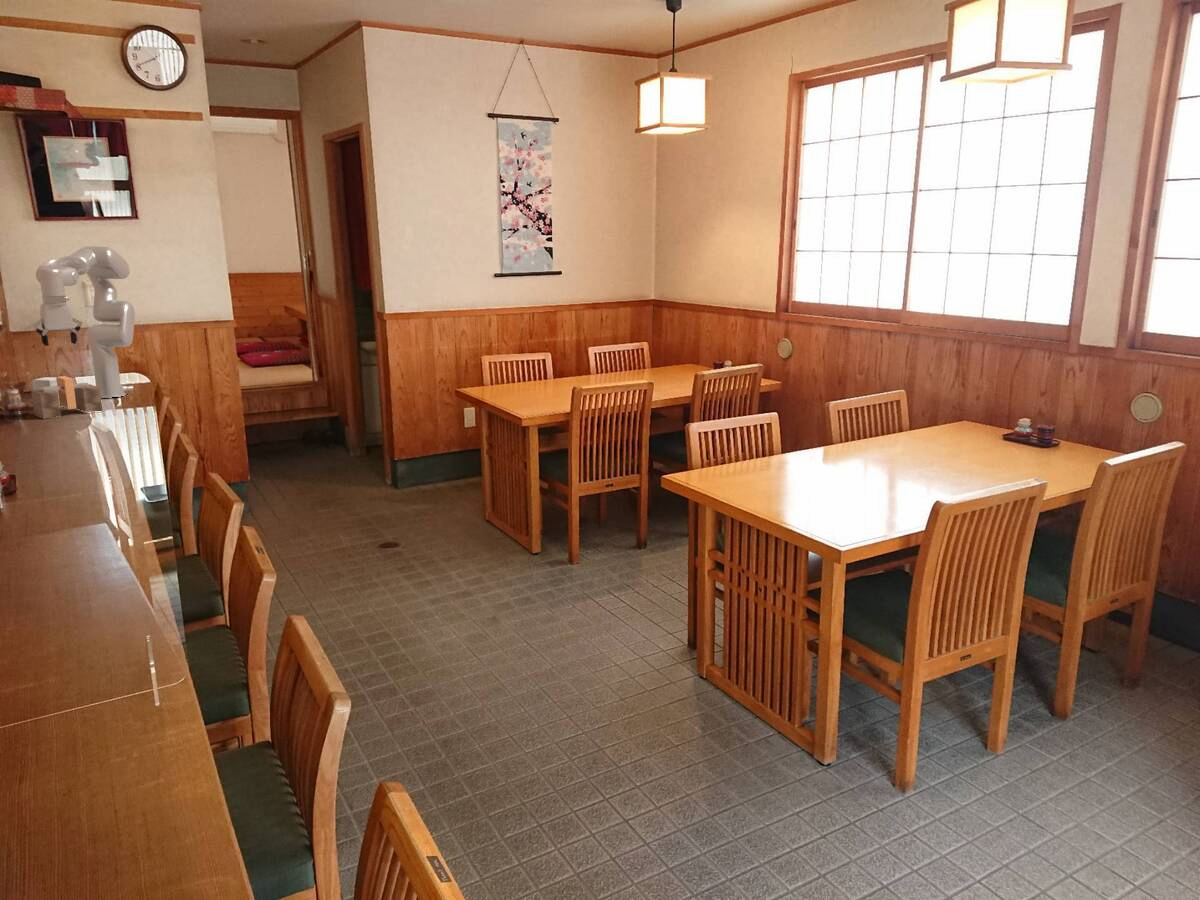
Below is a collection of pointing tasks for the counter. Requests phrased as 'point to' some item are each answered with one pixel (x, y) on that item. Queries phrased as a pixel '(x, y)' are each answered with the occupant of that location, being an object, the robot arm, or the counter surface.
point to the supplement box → (44, 383)
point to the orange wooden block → (66, 392)
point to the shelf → (49, 401)
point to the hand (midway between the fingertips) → (60, 344)
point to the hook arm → (59, 387)
